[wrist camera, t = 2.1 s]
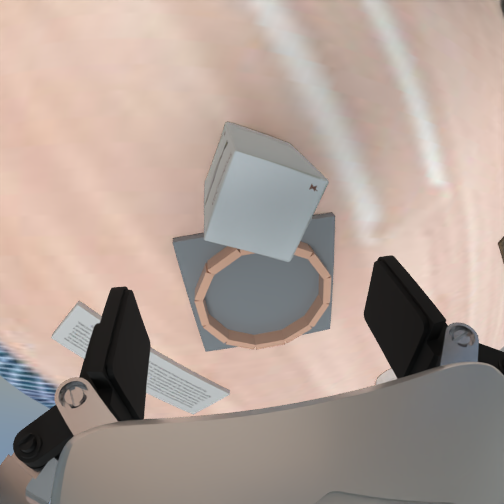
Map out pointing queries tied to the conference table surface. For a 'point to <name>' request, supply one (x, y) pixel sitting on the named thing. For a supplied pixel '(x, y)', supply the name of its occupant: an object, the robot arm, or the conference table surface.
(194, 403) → the plaque
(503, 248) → the wooden plank
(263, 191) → the supplement box
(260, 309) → the ring holder
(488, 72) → the conference table surface
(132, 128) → the conference table surface
